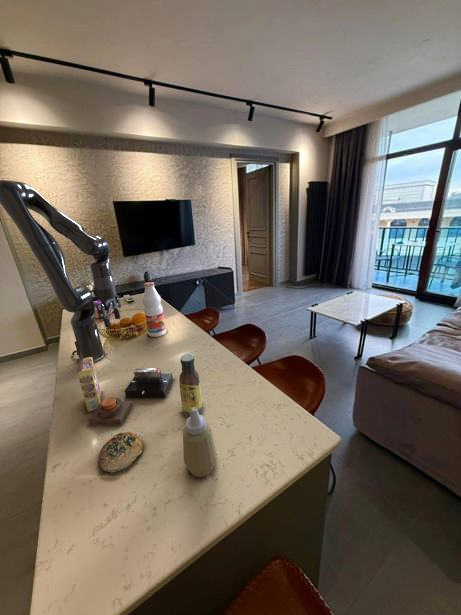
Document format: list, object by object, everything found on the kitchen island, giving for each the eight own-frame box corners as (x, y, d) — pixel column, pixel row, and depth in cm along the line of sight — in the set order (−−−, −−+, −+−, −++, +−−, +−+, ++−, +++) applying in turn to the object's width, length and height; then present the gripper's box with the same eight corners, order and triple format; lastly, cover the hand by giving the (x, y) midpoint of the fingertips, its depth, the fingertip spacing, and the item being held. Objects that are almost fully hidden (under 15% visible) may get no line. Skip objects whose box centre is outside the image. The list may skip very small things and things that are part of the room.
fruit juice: (166, 328, 142) (159, 280, 132) (165, 336, 134) (157, 284, 124) (149, 330, 141) (140, 281, 131) (147, 338, 132) (137, 286, 122)
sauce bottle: (179, 415, 80) (170, 360, 73) (189, 401, 86) (182, 350, 79) (197, 420, 78) (190, 364, 71) (206, 406, 83) (200, 353, 76)
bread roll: (113, 435, 74) (111, 422, 72) (150, 440, 73) (149, 428, 71) (89, 472, 64) (86, 459, 62) (132, 480, 63) (130, 466, 61)
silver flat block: (136, 383, 92) (133, 371, 90) (138, 380, 93) (135, 367, 92) (160, 383, 91) (158, 370, 89) (162, 379, 93) (160, 367, 91)
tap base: (124, 401, 88) (122, 393, 87) (139, 377, 100) (137, 370, 99) (163, 401, 87) (162, 393, 85) (174, 377, 99) (173, 370, 98)
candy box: (102, 408, 85) (91, 369, 80) (87, 412, 83) (75, 373, 78) (102, 392, 93) (92, 356, 87) (88, 396, 91) (77, 359, 86)
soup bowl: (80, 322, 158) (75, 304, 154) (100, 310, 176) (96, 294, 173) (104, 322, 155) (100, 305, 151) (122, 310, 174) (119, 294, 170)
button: (100, 410, 79) (99, 406, 78) (106, 401, 82) (105, 397, 82) (112, 410, 78) (111, 406, 78) (118, 401, 82) (117, 397, 82)
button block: (90, 424, 78) (87, 414, 77) (103, 406, 86) (101, 396, 84) (121, 424, 78) (118, 414, 76) (132, 406, 85) (130, 396, 84)
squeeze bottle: (186, 453, 67) (177, 398, 61) (217, 450, 67) (211, 395, 61) (183, 484, 59) (173, 424, 53) (218, 480, 60) (212, 420, 54)
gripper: (105, 282, 111) (113, 316, 117) (85, 291, 98) (95, 330, 103) (121, 281, 110) (128, 316, 116) (104, 291, 97) (113, 329, 103)
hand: (113, 322), depth 110 cm, fingers open, 8 cm apart
